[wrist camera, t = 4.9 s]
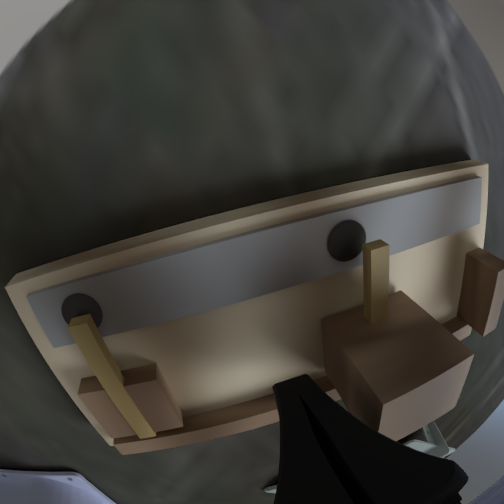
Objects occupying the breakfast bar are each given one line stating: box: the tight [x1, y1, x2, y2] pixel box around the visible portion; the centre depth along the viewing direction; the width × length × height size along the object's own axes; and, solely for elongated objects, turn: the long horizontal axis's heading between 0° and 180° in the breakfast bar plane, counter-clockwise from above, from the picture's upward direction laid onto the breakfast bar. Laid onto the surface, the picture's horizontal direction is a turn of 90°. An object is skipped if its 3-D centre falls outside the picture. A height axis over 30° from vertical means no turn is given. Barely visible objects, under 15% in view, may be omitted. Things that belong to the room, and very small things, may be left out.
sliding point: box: [321, 239, 474, 441], centre depth 11 cm, size 4×6×5 cm, turn 11°
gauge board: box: [5, 160, 504, 455], centre depth 13 cm, size 22×10×4 cm, turn 101°
